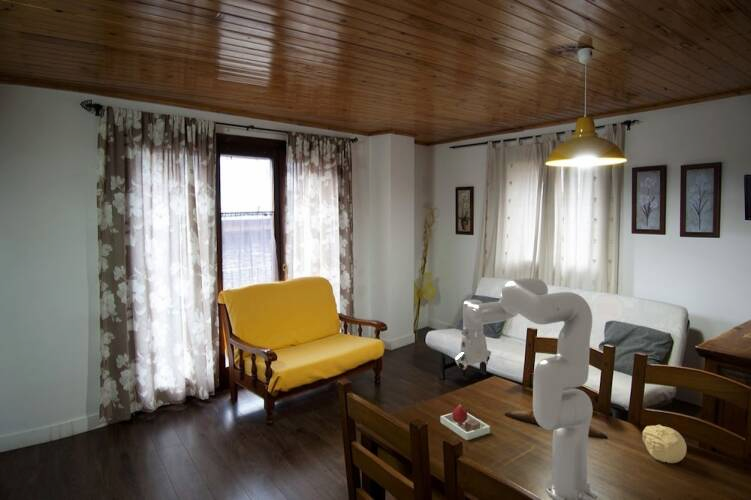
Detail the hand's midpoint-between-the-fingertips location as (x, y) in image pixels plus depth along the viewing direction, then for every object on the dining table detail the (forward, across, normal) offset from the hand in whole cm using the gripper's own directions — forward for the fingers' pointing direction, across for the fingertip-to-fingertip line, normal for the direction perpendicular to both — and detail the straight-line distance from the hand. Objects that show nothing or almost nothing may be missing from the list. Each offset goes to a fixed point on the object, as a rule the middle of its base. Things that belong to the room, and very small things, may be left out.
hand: (473, 376), depth 175 cm
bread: (+21, +27, -15) cm, 37 cm away
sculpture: (+22, +40, -49) cm, 67 cm away
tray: (+20, -4, +1) cm, 21 cm away
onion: (+20, -4, +4) cm, 20 cm away
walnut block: (+20, -4, -4) cm, 20 cm away
